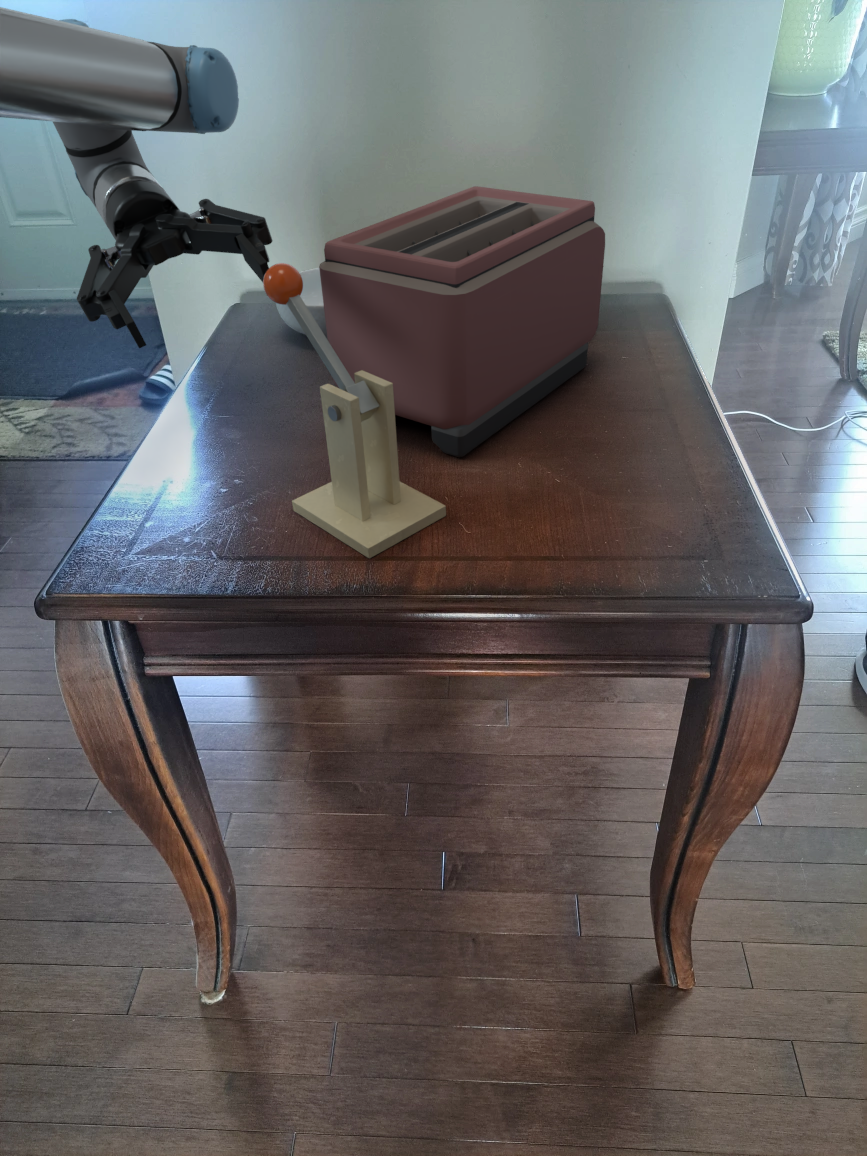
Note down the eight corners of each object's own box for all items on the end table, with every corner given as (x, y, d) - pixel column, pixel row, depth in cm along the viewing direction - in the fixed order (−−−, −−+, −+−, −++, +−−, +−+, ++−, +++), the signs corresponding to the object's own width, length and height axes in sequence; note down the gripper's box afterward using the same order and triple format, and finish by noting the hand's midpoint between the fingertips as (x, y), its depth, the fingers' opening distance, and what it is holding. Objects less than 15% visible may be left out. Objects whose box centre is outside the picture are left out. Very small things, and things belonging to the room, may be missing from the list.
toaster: (611, 354, 112) (627, 191, 100) (460, 466, 90) (457, 273, 77) (491, 327, 122) (492, 175, 109) (327, 423, 99) (305, 244, 86)
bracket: (293, 510, 84) (272, 383, 76) (368, 473, 89) (356, 351, 81) (369, 558, 77) (355, 424, 68) (446, 515, 82) (442, 386, 74)
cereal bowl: (291, 311, 130) (284, 265, 126) (396, 309, 129) (393, 263, 125) (270, 354, 116) (261, 304, 112) (387, 352, 116) (384, 302, 111)
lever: (251, 284, 77) (261, 260, 74) (283, 274, 79) (294, 250, 76) (343, 431, 76) (358, 413, 73) (373, 418, 78) (388, 400, 75)
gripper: (253, 202, 96) (329, 285, 84) (50, 290, 91) (98, 392, 79) (231, 137, 90) (309, 216, 78) (12, 227, 85) (58, 327, 73)
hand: (203, 305), depth 78 cm, fingers open, 13 cm apart
